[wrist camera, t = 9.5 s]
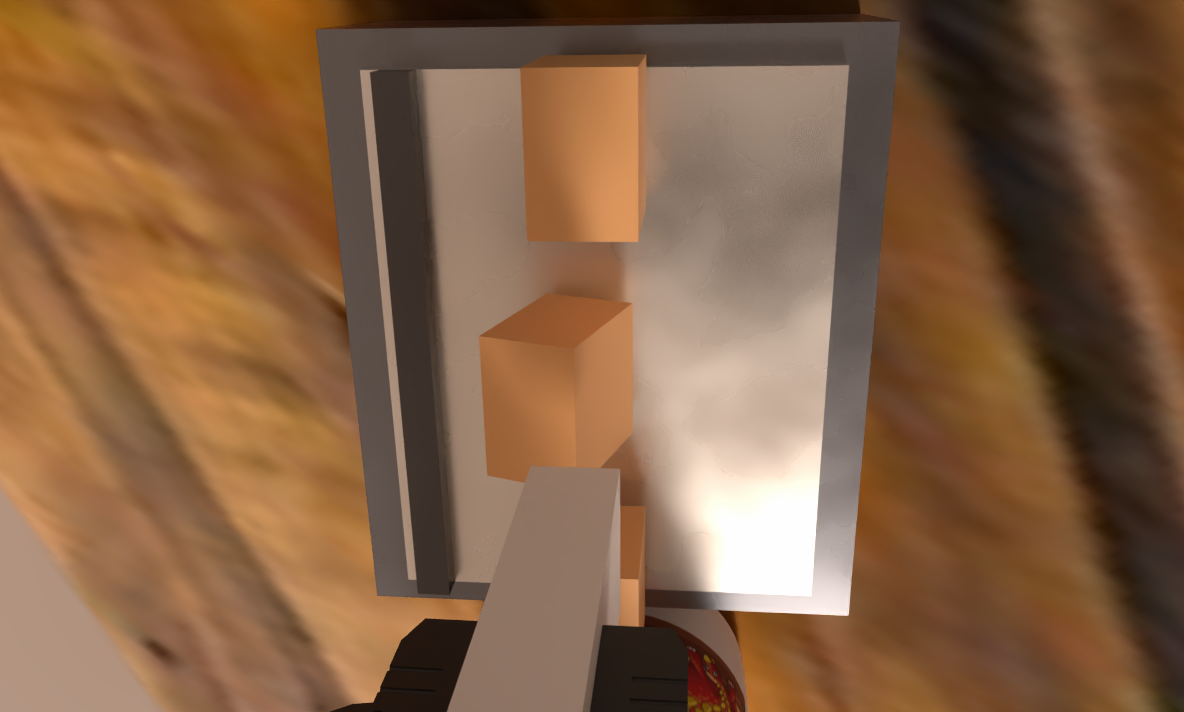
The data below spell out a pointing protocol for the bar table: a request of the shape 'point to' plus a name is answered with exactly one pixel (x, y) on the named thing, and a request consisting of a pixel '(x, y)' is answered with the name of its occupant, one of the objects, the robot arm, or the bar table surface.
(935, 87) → the bar table surface
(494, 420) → the small orange block
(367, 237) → the gray rectangular tray
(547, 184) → the orange tall rectangular block
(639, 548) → the tan wooden block
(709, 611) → the milk bottle
